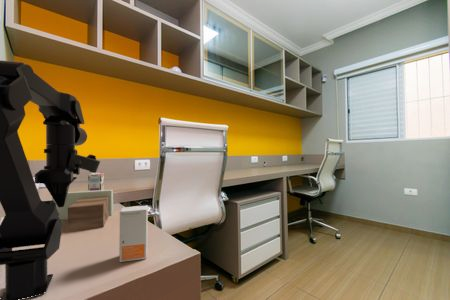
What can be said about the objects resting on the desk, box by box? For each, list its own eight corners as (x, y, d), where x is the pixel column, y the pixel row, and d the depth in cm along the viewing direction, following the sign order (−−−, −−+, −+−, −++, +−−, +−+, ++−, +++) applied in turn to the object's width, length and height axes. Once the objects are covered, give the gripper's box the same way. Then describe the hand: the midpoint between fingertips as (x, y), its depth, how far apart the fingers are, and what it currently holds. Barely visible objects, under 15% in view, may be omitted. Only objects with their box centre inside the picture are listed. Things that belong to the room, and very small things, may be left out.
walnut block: (103, 228, 72) (103, 204, 72) (67, 232, 68) (67, 207, 68) (108, 216, 85) (108, 196, 85) (79, 219, 81) (79, 198, 81)
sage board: (111, 215, 85) (111, 190, 85) (52, 220, 79) (52, 194, 79) (113, 213, 88) (112, 189, 88) (56, 218, 82) (55, 192, 82)
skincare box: (119, 263, 49) (118, 211, 49) (122, 254, 53) (122, 206, 53) (147, 259, 50) (146, 209, 50) (148, 251, 55) (147, 204, 55)
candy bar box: (101, 213, 88) (101, 174, 88) (87, 215, 86) (87, 175, 86) (104, 207, 98) (104, 171, 98) (91, 208, 96) (91, 172, 96)
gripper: (96, 144, 49) (97, 211, 49) (99, 145, 65) (99, 196, 65) (33, 143, 44) (34, 219, 44) (53, 145, 60) (53, 200, 60)
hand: (61, 206), depth 53 cm, fingers closed
